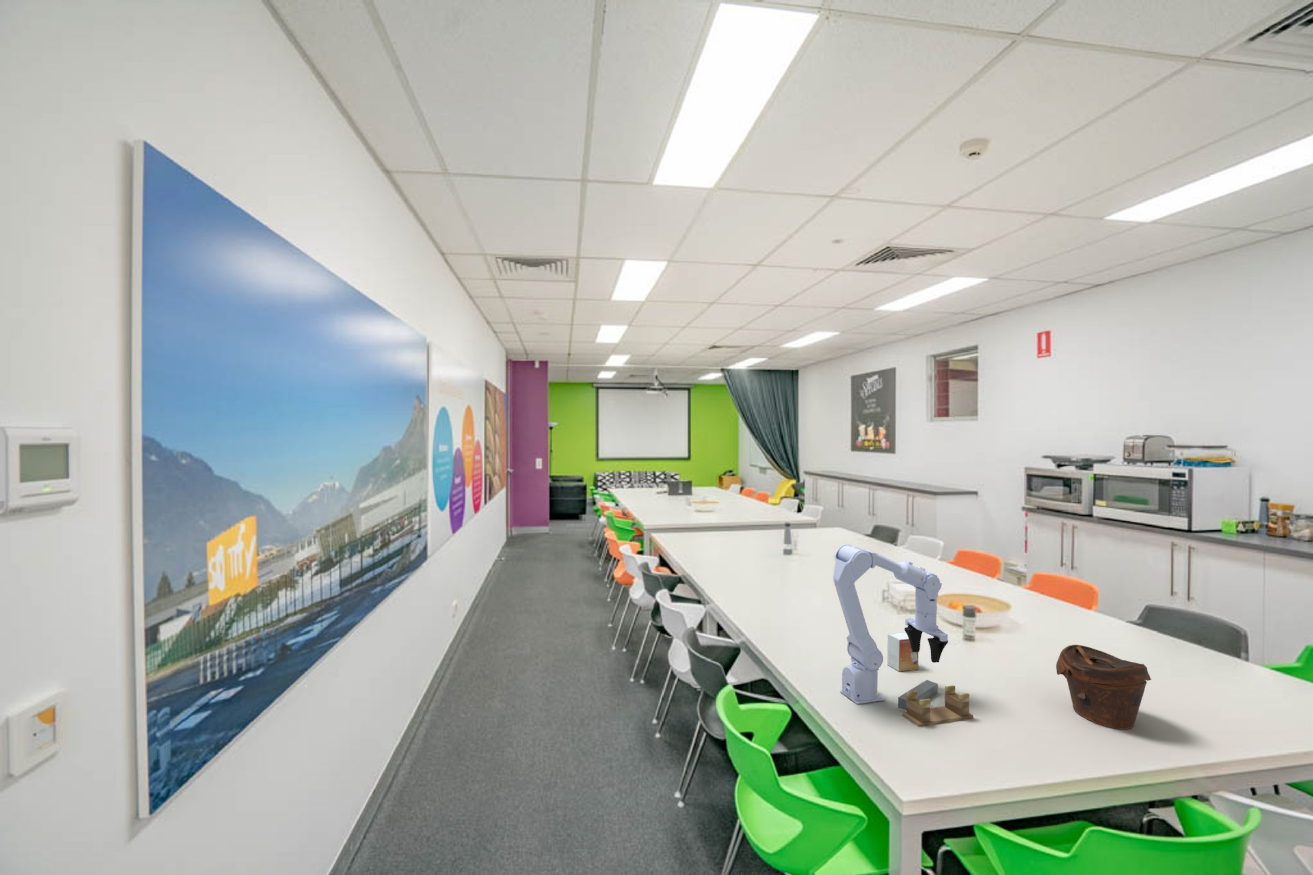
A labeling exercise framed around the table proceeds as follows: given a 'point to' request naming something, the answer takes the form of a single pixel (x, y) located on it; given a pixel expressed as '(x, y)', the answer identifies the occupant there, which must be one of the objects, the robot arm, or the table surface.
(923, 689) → the rail
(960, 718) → the rack
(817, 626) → the table surface
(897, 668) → the small box
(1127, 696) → the case
